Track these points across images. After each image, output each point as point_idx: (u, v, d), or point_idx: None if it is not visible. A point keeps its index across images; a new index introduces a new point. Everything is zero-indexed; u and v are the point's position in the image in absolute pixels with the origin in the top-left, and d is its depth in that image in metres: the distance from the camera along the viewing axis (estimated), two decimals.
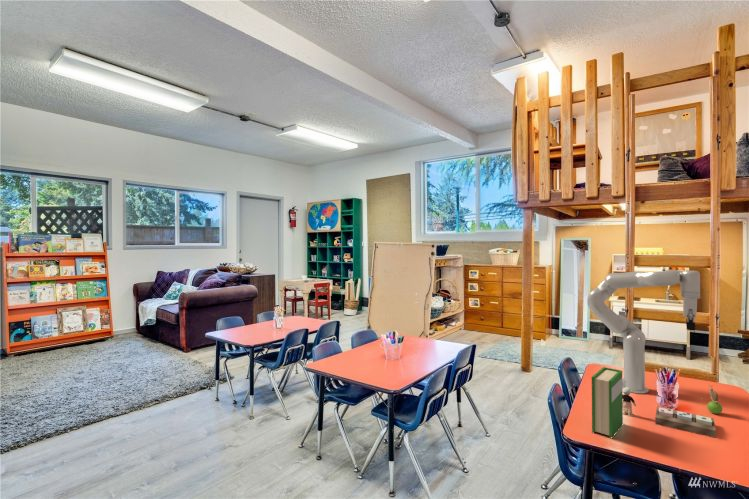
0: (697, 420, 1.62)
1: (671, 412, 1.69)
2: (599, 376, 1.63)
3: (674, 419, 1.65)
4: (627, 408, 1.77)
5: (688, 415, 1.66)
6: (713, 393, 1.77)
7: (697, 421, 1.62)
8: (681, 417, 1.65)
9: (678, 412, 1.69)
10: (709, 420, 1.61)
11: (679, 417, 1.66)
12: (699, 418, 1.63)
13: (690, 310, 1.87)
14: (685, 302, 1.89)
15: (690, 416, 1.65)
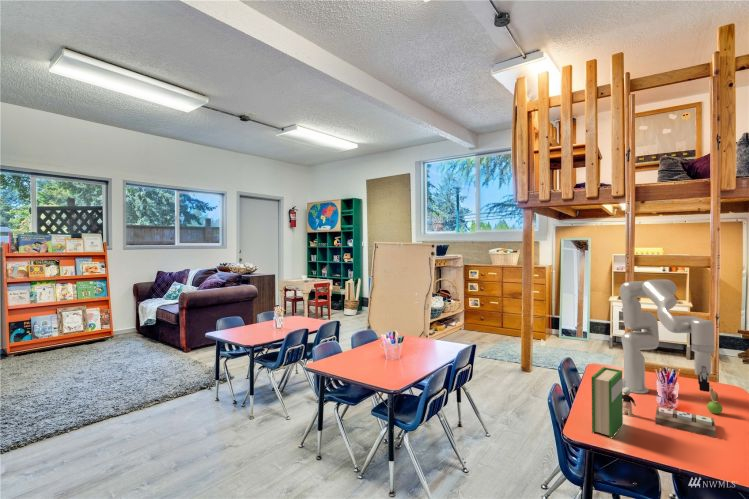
0: (697, 420, 1.62)
1: (671, 412, 1.69)
2: (599, 376, 1.63)
3: (674, 419, 1.65)
4: (627, 408, 1.77)
5: (688, 415, 1.66)
6: (713, 393, 1.77)
7: (697, 421, 1.62)
8: (681, 417, 1.65)
9: (678, 412, 1.69)
10: (709, 420, 1.61)
11: (679, 417, 1.66)
12: (699, 418, 1.63)
13: (703, 367, 1.59)
14: (697, 357, 1.61)
15: (690, 416, 1.65)
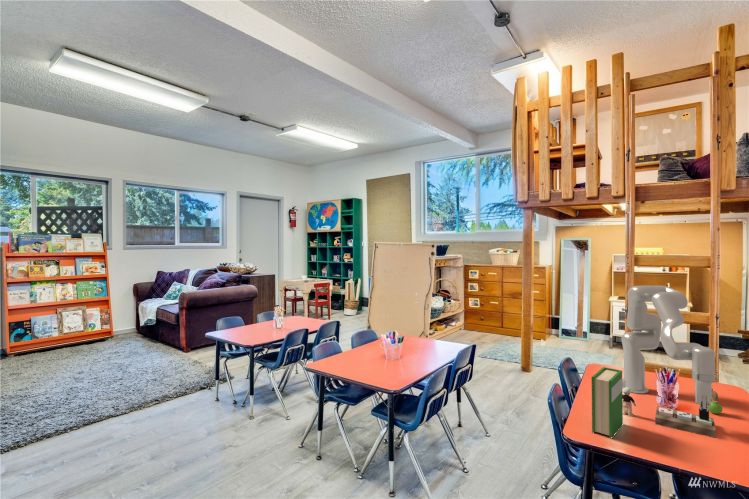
0: (697, 421, 1.62)
1: (671, 412, 1.69)
2: (599, 376, 1.63)
3: (674, 419, 1.65)
4: (627, 408, 1.77)
5: (688, 415, 1.66)
6: (713, 393, 1.77)
7: (697, 422, 1.62)
8: (681, 417, 1.65)
9: (678, 412, 1.69)
10: (709, 421, 1.61)
11: (679, 417, 1.66)
12: (699, 419, 1.63)
13: (704, 399, 1.59)
14: (698, 386, 1.60)
15: (690, 416, 1.65)
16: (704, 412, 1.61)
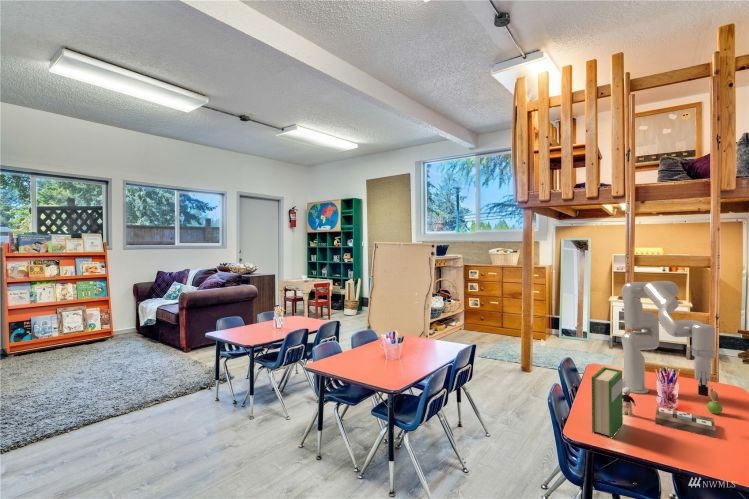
0: None
1: (671, 412, 1.69)
2: (599, 376, 1.63)
3: (674, 419, 1.65)
4: (627, 408, 1.77)
5: (688, 415, 1.66)
6: (713, 393, 1.77)
7: None
8: (681, 417, 1.65)
9: (678, 412, 1.69)
10: (709, 424, 1.61)
11: (679, 417, 1.66)
12: (699, 422, 1.63)
13: (703, 375, 1.59)
14: (697, 362, 1.60)
15: (690, 416, 1.65)
16: (703, 388, 1.61)
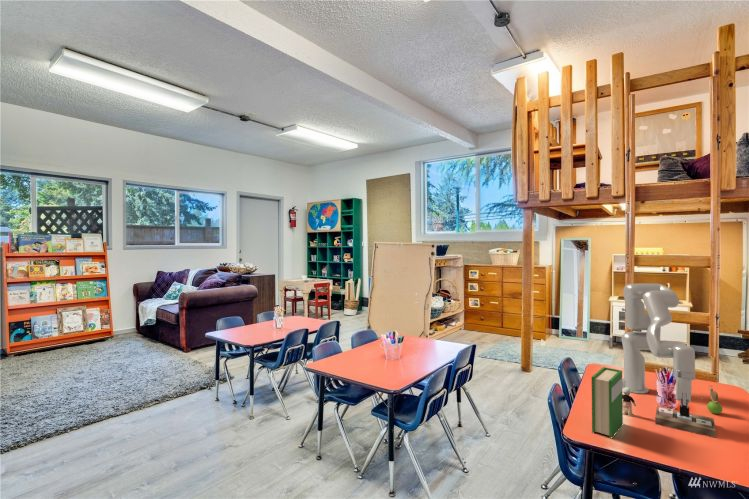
0: None
1: (671, 412, 1.69)
2: (599, 376, 1.63)
3: (674, 419, 1.65)
4: (627, 408, 1.77)
5: None
6: (713, 393, 1.77)
7: None
8: (681, 418, 1.65)
9: (678, 413, 1.69)
10: (709, 424, 1.61)
11: (679, 418, 1.66)
12: (699, 422, 1.63)
13: (684, 396, 1.63)
14: (678, 383, 1.64)
15: (690, 417, 1.65)
16: (684, 408, 1.65)
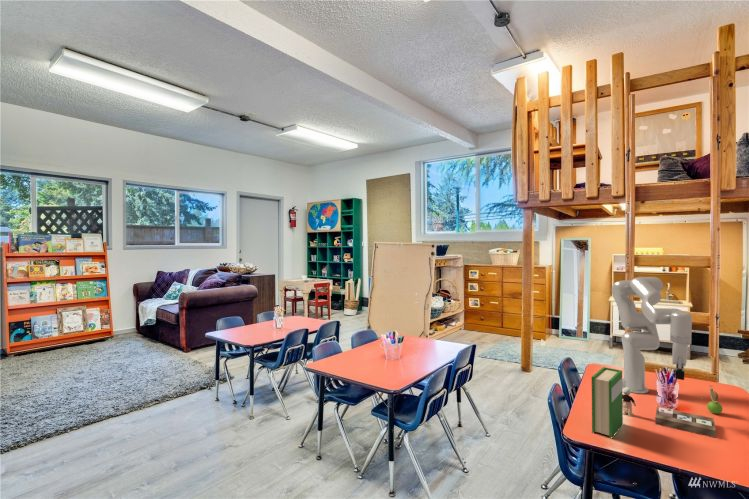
0: None
1: (671, 412, 1.69)
2: (599, 376, 1.63)
3: (674, 419, 1.65)
4: (627, 408, 1.77)
5: (688, 419, 1.66)
6: (713, 393, 1.77)
7: None
8: None
9: (678, 416, 1.69)
10: (709, 424, 1.61)
11: None
12: (699, 422, 1.63)
13: (679, 360, 1.68)
14: (674, 348, 1.69)
15: (690, 420, 1.65)
16: (680, 372, 1.71)
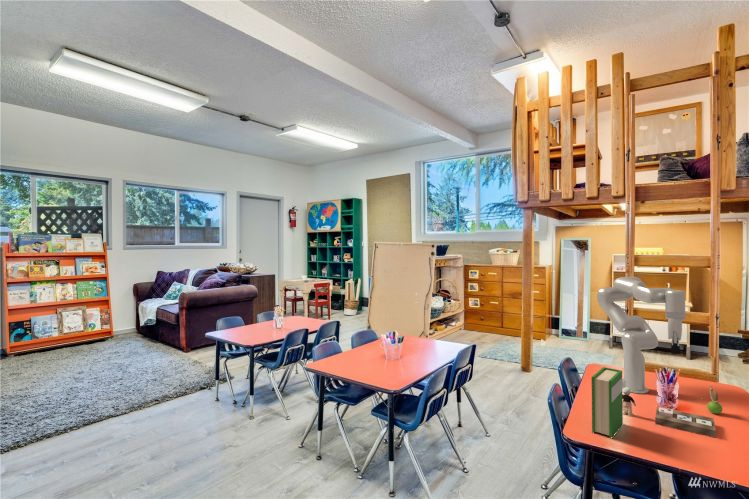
0: None
1: (671, 412, 1.69)
2: (599, 376, 1.63)
3: (674, 419, 1.65)
4: (627, 408, 1.77)
5: (688, 419, 1.66)
6: (713, 393, 1.77)
7: None
8: None
9: (678, 416, 1.69)
10: (709, 424, 1.61)
11: None
12: (699, 422, 1.63)
13: (675, 335, 1.78)
14: (669, 324, 1.79)
15: (690, 420, 1.65)
16: (675, 347, 1.80)
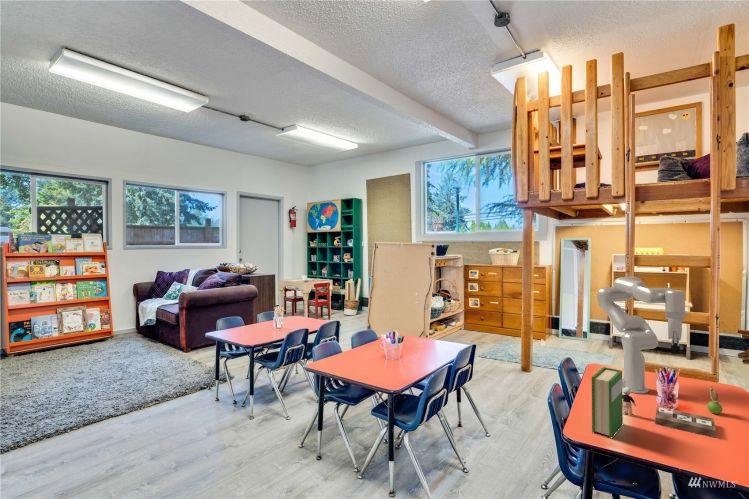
0: None
1: (671, 412, 1.69)
2: (599, 376, 1.63)
3: (674, 419, 1.65)
4: (627, 408, 1.77)
5: (688, 419, 1.66)
6: (713, 393, 1.77)
7: None
8: None
9: (678, 416, 1.69)
10: (709, 424, 1.61)
11: None
12: (699, 422, 1.63)
13: (675, 335, 1.78)
14: (669, 324, 1.79)
15: (690, 420, 1.65)
16: (675, 347, 1.80)
